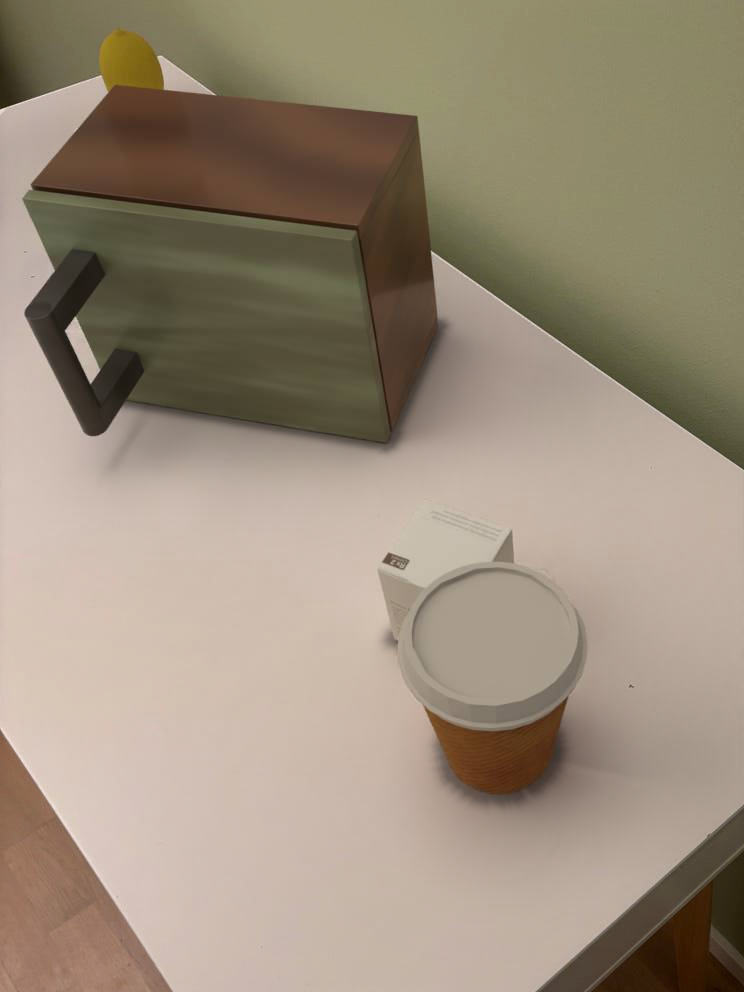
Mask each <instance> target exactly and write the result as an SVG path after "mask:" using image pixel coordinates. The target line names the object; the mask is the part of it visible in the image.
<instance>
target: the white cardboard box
mask: <svg viewBox="0 0 744 992" xmlns="http://www.w3.org/2000/svg"><path fill="white" fill-rule="evenodd" d="M513 535H514V534H513V529H512V528H510V527H507V526H504V525H502V524H498V523H495V522H492V521H489V520H487V519H484V518H481V517H479V516H475V515H473V514H470V513H467V512H464V511H461V510H458V509H455V508H453V507H450V506H447V505H445V504H441V503H438V502H436V501H433V500H430V499H427V498H425V499H424V500H423V501H422V502H421V503H420V505H419V506H418V508H417V509H416V510H415V512H414V514H413V515H412V517H411V518H410V520H409V521H408V523H407V524H406V525H405V527H404V528H403V530H402V532H401V533H400V534H399V536H398V538H397V539H396V540H395V542H394V543H393V545H392V546H391V548H390V549H389V550H388V552H387V554H386V555H385V557H384V558H383V559H382V561H381V562H380V563H379V565H378V567H377V569H376V570H377V574H378V578H379V582H380V587H381V590H382V594H383V598H384V603H385V606H386V610H387V611H386V612H387V615H388V619H389V623H390V627H391V632H392V636H393V639H394V640H395V641H397V642H398V639H399V633H400V630H401V628H402V625H403V622H404V620H405V618H406V616H407V615H408V613H409V611H410V609H411V607H412V606H413V604H414V602H415V600H416V599H417V598H418V596H419V595H420V594H421V592H422V591H423V590H424V589H425V588H426V587H427V586H429V585H430V584H431V583H432V582H433V581H434V580H436V579H437V578H439V577H441V576H442V575H444V574H445V573H448V572H450V571H452V570H454V569H456V568H459V567H462V566H466V565H469V564H475V563H481V562H507V563H513V564H515V553H514V550H515V549H514V540H513V539H514V536H513Z"/></svg>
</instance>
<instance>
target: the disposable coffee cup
mask: <svg viewBox="0 0 744 992" xmlns="http://www.w3.org/2000/svg"><path fill="white" fill-rule="evenodd" d="M588 645H589V643H588V634H587V631H586V626H585V624H584V622H583V619H582V616H581V615H580V612H579V611H578V609H577V608H576V607H575V605H574V604H573V603H572V602H571V600H570V599H569V597H568V595H567V594H566V593H565V592H564V591H563V590H562V588H561V587H559V585H558V584H557V583H555V582H554V581H553V580H551V579H550V578H549V577H547V576H546V575H544V574H542V572H539V571H537V570H535V569H532V568H530V567H528V566H526V565H522V564H516V563H514V564H513V563H507V562H481V563H475V564H469V565H466V566H462V567H459V568H456V569H454V570H452V571H450V572H448V573H445V574H444V575H442V576H441V577H439V578H437V579H436V580H434V581H433V582H432V583H431V584H430V585H429V586H427V587H426V588H425V589H424V590H423V591H422V592H421V594H420V595H419V596H418V598H417V599H416V600H415V602H414V604H413V606H412V607H411V609H410V611H409V613H408V615H407V616H406V618H405V620H404V622H403V625H402V628H401V630H400V633H399V639H398V641H397V646H396V648H397V662H398V667H399V669H400V673H401V676H402V678H403V681H404V684H405V685H406V687H407V688H408V689H409V691H410V692H411V694H412V695H413V697H414V698H415V699H416V700H417V701H418V702H419V703H420V704H421V705H422V706H423V708H424V711H425V713H426V715H427V717H428V719H429V722H430V725H431V726H432V729H433V731H434V733H435V736H436V738H437V740H438V742H439V743H440V746H441V748H442V751H443V752H444V755H445V757H446V760H447V762H448V765H449V767H450V769H451V770H452V772H453V773H454V775H455V776H456V777H457V778H458V779H459V780H460V781H461V782H462V783H464V784H465V785H467V786H468V787H470V788H472V789H475V790H477V791H479V792H483V793H488V794H491V795H492V794H496V795H501V794H510V793H515V792H519V791H521V790H523V789H524V788H526V787H528V786H530V785H532V784H534V782H536V781H538V779H539V778H540V777H541V776H542V775H543V774H544V772H545V771H546V769H547V767H548V765H549V764H550V762H551V760H552V756H553V751H554V747H555V744H556V741H557V737H558V734H559V730H560V727H561V723H562V720H563V717H564V713H565V710H566V707H567V703H568V700H569V696H570V695H571V694H572V693H573V692H574V690H575V688H576V686H577V684H578V683H579V681H580V680H581V678H582V675H583V672H584V669H585V665H586V662H587V659H588V658H587V657H588Z"/></svg>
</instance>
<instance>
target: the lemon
mask: <svg viewBox="0 0 744 992" xmlns="http://www.w3.org/2000/svg"><path fill="white" fill-rule="evenodd" d="M99 70H100V74H101V78H102V81H103V84H104V86H105V88H106V90H107V93H108V92H109V91H110V90H111V89H112V88H113V86H114V85H123V86H133V87H142V88H152V89H162V90H165V80H164V75H163V74H164V73H163V70H162V66H161V63H160V61H159V57H158V56H157V54H156V52H155V50H154V49H153V47H152V46H151V45H150V43H149V42H148V41H147V40H146V39H145V38H144V37H142V36H141V35H140V34H138V33H136V32H133V31H130V30H126V29H125V30H124V29H122V28H121V27H120V28H119V27H118V28H115V29H114V31H113V32H112V33H110V34H109V35H108V36H107V37H106V38H105V39H103V42H102V43H101V46H100V49H99Z"/></svg>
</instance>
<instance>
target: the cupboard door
mask: <svg viewBox="0 0 744 992" xmlns="http://www.w3.org/2000/svg"><path fill="white" fill-rule="evenodd" d="M21 200H22V203H23V205H24V207H25V208H26V211H27V213H28V215H29V217H30V219H31V223H32V224H33V227H34V228H35V230H36V233H37V235H38V237H39V239H40V241H41V243H42V246H43V248H44V250H45V253H46V254H47V257H48V259H49V262H50V263H51V266H52V268H53V270H54V271H53V272H52V273H51V275H50V277H49V278H47V280H46V282H45V283H44V284H43V286H42V287H41V288H40V290H39V291H38V292H37V293H36V294H35V296H34V297H33V298H32V300H31V301H30V303H29V304H28V305H27V306H26V307H25V309H24V313H23V315H24V317H25V320H26V321H27V323H28V325H29V327H30V329H31V332H32V334H33V335H34V337H35V340H36V341H37V343H38V345H39V348H40V350H41V351H42V353H43V355H44V358H45V359H46V361H47V363H48V365H49V367H50V369H51V371H52V373H53V375H54V377H55V378H56V380H57V382H58V385H59V386H60V388H61V390H62V392H63V394H64V396H65V398H66V400H67V402H68V404H69V407H70V408H71V410H72V412H73V414H74V417H75V418H76V420H77V423H78V424H79V426H80V428H81V430H82V432H83V434H85V435H86V436H88V437H98V436H101V435H103V434H104V433H105V432H107V430H108V429H109V428H110V426H111V425H112V423H113V421H114V420H115V418H116V416H117V415H118V414H119V412H120V411H121V409H122V408H123V406H124V404H125V403H126V401H131V402H136V403H137V402H138V403H144V404H150V405H156V406H162V407H168V408H174V409H180V410H185V411H186V410H187V411H191V412H197V413H204V414H210V415H216V416H223V417H228V418H233V419H241V420H245V421H252V422H258V423H263V424H264V423H265V424H271V425H277V426H284V427H288V428H295V429H301V430H307V431H313V432H320V433H325V434H331V435H336V436H337V435H338V436H342V437H343V436H344V437H350V438H356V439H363V440H368V441H374V442H379V443H385V444H386V443H388V440H389V438H390V436H391V433H392V432H390V427H389V421H388V415H387V409H386V403H385V397H384V391H383V385H382V379H381V373H380V367H379V361H378V355H377V349H376V343H375V337H374V330H373V324H372V318H371V312H370V306H369V300H368V294H367V288H366V282H365V276H364V270H363V264H362V258H361V252H360V246H359V240H358V234H357V231H354V230H347V229H339V228H331V227H323V226H315V225H307V224H299V223H291V222H283V221H275V220H267V219H259V218H251V217H243V216H235V215H227V214H220V213H212V212H204V211H196V210H188V209H180V208H172V207H164V206H156V205H148V204H140V203H132V202H124V201H116V200H108V199H100V198H92V197H85V196H77V195H69V194H61V193H53V192H45V191H37V190H33V189H28V190H27V191H26V193H24V195H23V196H22V198H21ZM75 318H76V320H77V322H78V325H79V326H80V329H81V330H82V333H83V335H84V337H85V340H86V342H87V344H88V347H89V348H90V350H91V353H92V355H93V357H94V359H95V361H96V364H97V365H98V368H99V371H98V372H97V374H96V375H95V377H94V379H92V381H91V383H90V380H89V378H88V377H87V374H86V372H85V369H84V368H83V365H82V363H81V361H80V359H79V357H78V355H77V352H76V351H75V349H74V347H73V344H72V342H71V340H70V338H69V336H68V334H67V332H66V331H67V329H68V328H69V326H70V325H71V323H72V322H73V321H74V319H75Z"/></svg>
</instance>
